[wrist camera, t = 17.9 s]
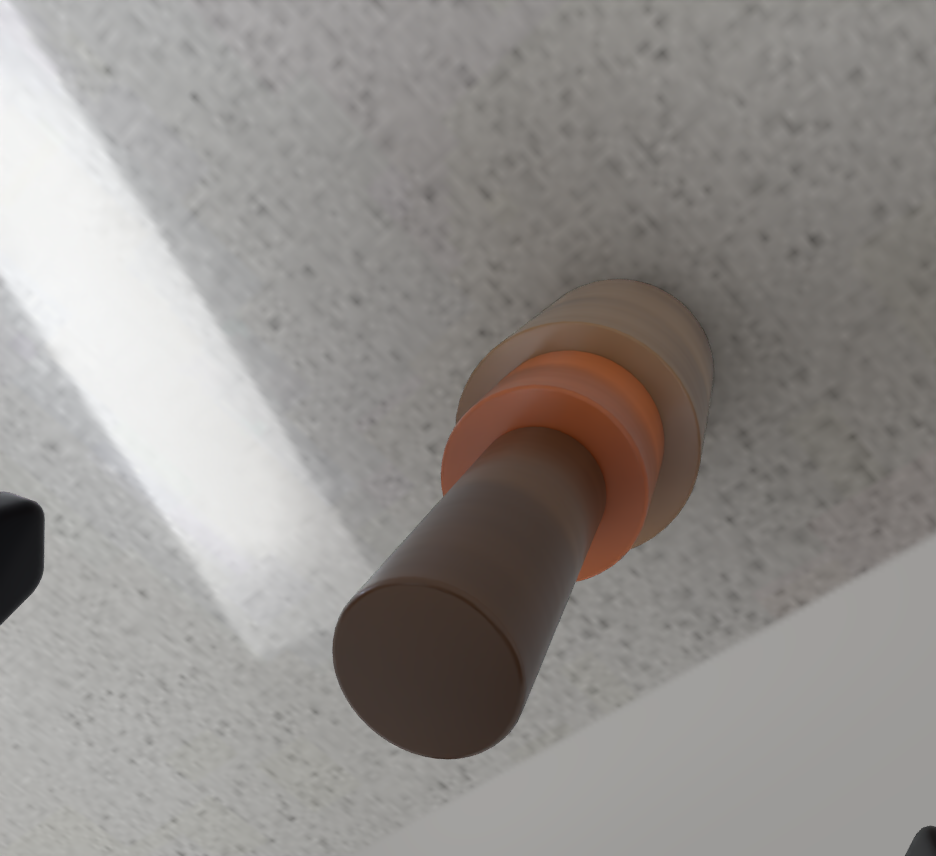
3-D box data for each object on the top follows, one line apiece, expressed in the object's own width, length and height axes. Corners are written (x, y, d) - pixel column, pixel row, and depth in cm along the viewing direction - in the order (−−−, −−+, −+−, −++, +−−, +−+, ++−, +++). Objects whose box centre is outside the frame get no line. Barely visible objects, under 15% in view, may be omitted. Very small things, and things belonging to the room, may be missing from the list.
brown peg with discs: (656, 534, 15) (577, 848, 8) (482, 509, 16) (283, 772, 9) (673, 358, 14) (600, 548, 7) (487, 342, 15) (268, 496, 8)
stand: (703, 472, 20) (687, 576, 15) (521, 449, 21) (452, 539, 16) (724, 285, 19) (715, 332, 14) (529, 272, 20) (456, 311, 15)
